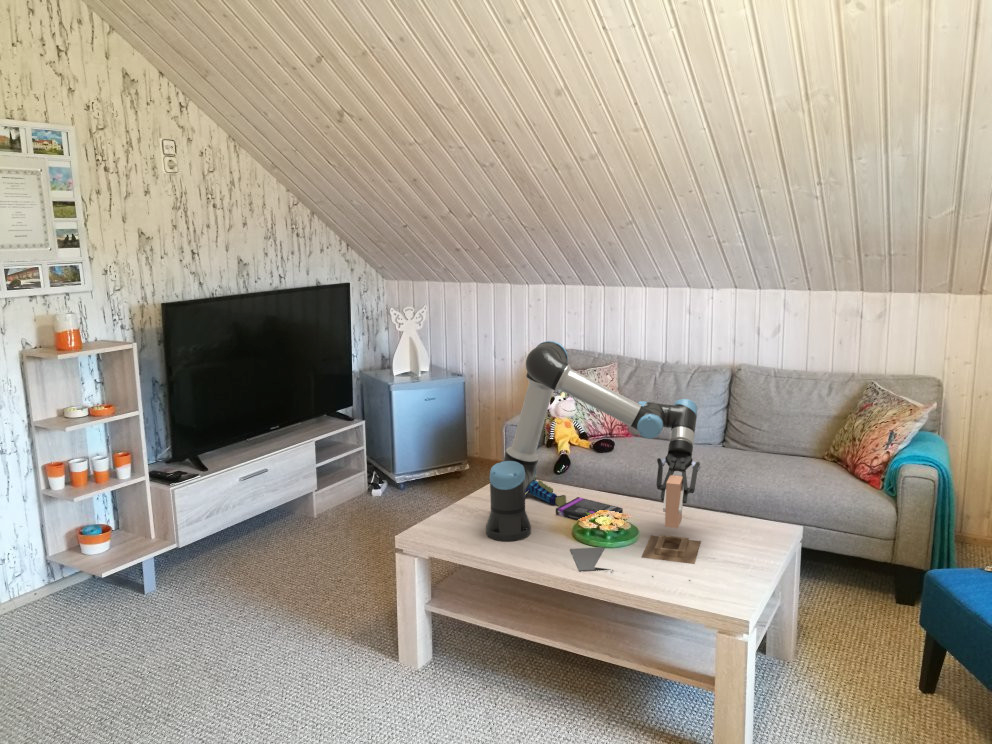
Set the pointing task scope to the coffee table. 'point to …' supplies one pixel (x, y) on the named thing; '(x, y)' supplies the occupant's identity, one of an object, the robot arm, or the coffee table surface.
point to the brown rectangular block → (673, 501)
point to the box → (583, 508)
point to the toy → (545, 493)
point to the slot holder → (672, 549)
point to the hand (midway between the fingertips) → (672, 510)
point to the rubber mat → (587, 558)
